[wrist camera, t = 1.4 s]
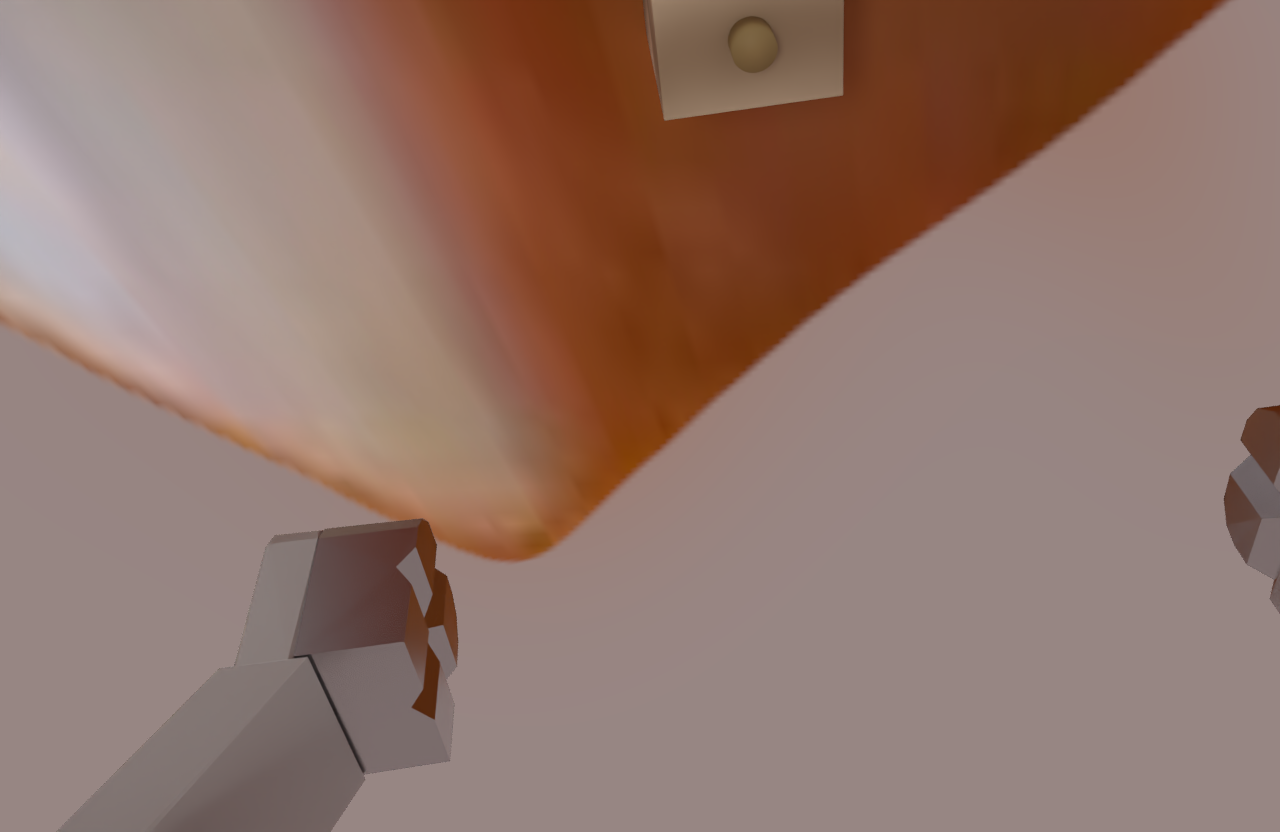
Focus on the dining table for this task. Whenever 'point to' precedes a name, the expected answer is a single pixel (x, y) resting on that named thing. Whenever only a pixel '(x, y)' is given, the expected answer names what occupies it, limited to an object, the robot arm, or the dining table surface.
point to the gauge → (743, 53)
